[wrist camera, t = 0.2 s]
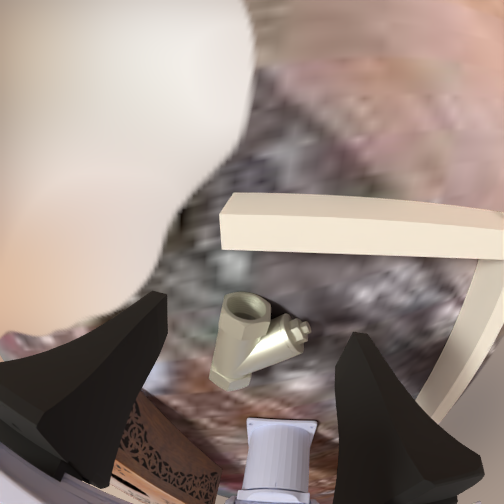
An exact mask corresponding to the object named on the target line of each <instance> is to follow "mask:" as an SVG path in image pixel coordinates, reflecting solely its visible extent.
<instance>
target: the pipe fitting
mask: <svg viewBox="0 0 504 504" xmlns="http://www.w3.org/2000/svg"><path fill="white" fill-rule="evenodd" d="M309 333H311V327H310V325H309V323H308V322H307V321H305V322H302V321H301V320H300V319H297V318H296V319H292V318H291V317H290V315H288V314H283V315H281V316H279V317H276V318H274V319H272V320H271V304H270V303H269V302H267V301H266V300H265V299H263V298H262V297H260V296H258V295H256V294H253V293H250V292H234V293H230V294H227V295H225V296H224V300H223V305H222V310H221V315H220V320H219V330H218V335H217V341H216V346H215V351H214V354H213V359H212V364H211V370H210V375H209V379H210V380H211V381H212V382H213V383H215V384H216V385H217V386H219V387H220V388H222V389H224V390H226V391H233V390H238V389H241V388H244V387H246V386H248V385H249V382H250V380H251V376H252V372H255V371H257V370H260V369H263V368H266V367H268V366H271V365H274V364H276V363H279V362H281V361H284V360H287V359H289V358H292V357H294V356H297V355H299V354H302V353H303V351H304V342H306V341H308V334H309Z"/></svg>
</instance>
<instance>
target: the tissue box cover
mask: <svg viewBox="0 0 504 504" xmlns="http://www.w3.org/2000/svg"><path fill="white" fill-rule="evenodd" d="M221 473H222V468H220V467H219V466H218V465H217V464H216V463H214V462H213V461H212V460H211V459H210V458H209V457H207V456H206V455H205V454H204V453H203V452H202V451H201V450H200V449H198V448H197V447H196V446H195V445H194V444H193V443H192V442H191V441H190V440H189V439H188V438H186V437H185V436H184V435H183V434H182V433H181V432H180V431H179V430H178V429H177V428H176V427H175V426H174V425H173V424H172V423H171V422H170V421H169V420H168V419H167V418H166V417H165V416H164V415H163V414H162V413H161V412H160V411H159V410H158V408H157V407H156V406H155V405H154V404H153V403H152V402H151V401H150V400H149V399H148V398H147V397H146V395H145V394H144V393H143V392H142V391H141V390H140V392H139V394H138V396H137V398H136V400H135V403H134V405H133V407H132V410H131V413H130V415H129V418H128V421H127V423H126V426H125V429H124V432H123V435H122V438H121V442H120V445H119V448H118V452H117V455H116V459H115V462H114V467H113V471H112V475H111V479H110V484H111V485H112V486H114V487H116V488H117V489H119V490H121V491H122V492H124V493H126V494H128V495H130V496H131V497H133V498H135V499H137V500H139V501H140V502H142V503H146V504H215V500H216V496H217V491H218V487H219V482H220V478H221Z"/></svg>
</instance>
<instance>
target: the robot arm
mask: <svg viewBox="0 0 504 504" xmlns="http://www.w3.org/2000/svg"><path fill="white" fill-rule="evenodd" d="M167 334H168V324H167V294H163V293H159V292H156V291H152V292H150V293H149V294H147V295H146V296H144V297H143V298H141V299H140V300H138V301H137V302H136V303H134V304H133V305H131V306H130V307H129V308H127V309H126V310H124V311H123V312H121V313H120V314H118V315H117V316H115V317H114V318H112V319H111V320H109V321H108V322H106V323H104V324H103V325H101V326H99V327H98V328H96V329H94V330H93V331H91V332H89V333H87V334H85V335H83V336H81V337H79V338H77V339H75V340H73V341H71V342H69V343H66V344H64V345H61V346H59V347H56V348H54V349H51V350H49V351H46V352H43V353H39V354H36V355H33V356H29V357H25V358H21V359H16V360H11V361H5V362H0V503H1V504H132V503H130V502H127V501H125V500H122V499H120V498H117V497H115V496H113V495H110V494H108V493H106V492H103V491H101V490H99V489H97V488H95V487H93V486H90V485H88V484H92V485H94V486H96V487H98V488H100V489H102V488H106V487H108V486H109V484H110V479H111V475H112V471H113V467H114V462H115V459H116V455H117V452H118V448H119V445H120V442H121V438H122V435H123V432H124V429H125V426H126V423H127V421H128V418H129V415H130V413H131V410H132V407H133V405H134V403H135V400H136V398H137V396H138V394H139V392H140V390H141V388H142V387H143V385H144V383H145V381H146V379H147V377H148V375H149V373H150V372H151V370H152V368H153V366H154V364H155V362H156V360H157V358H158V356H159V354H160V352H161V349H162V347H163V344H164V342H165V339H166V336H167ZM335 397H336V408H337V419H338V431H339V456H338V469H337V479H336V486H335V493H334V499H333V504H457V502H458V500H457V495H459V494H460V493H462V492H464V491H465V490H467V489H468V488H470V487H472V486H473V485H475V484H476V483H478V482H479V481H480V480H481V479H482V478H483V477H484V475H485V474H484V469H483V465H482V461H481V457H480V455H478V454H477V453H475V452H474V451H472V450H470V449H469V448H467V447H466V446H464V445H463V444H461V443H460V442H458V441H457V440H456V439H455V438H453V437H452V436H451V435H449V434H448V433H447V432H446V431H445V430H443V429H442V428H441V427H440V426H439V425H438V424H437V423H436V422H435V421H434V420H433V419H432V418H431V417H430V416H429V415H428V414H427V413H426V412H425V411H424V410H423V409H422V408H421V407H420V406H419V405H418V403H417V402H416V401H415V400H414V399H413V398H412V396H411V395H410V394H409V393H408V391H407V390H406V389H405V388H404V386H403V385H402V384H401V382H400V381H399V380H398V378H397V377H396V375H395V374H394V373H393V371H392V370H391V368H390V367H389V365H388V364H387V362H386V361H385V359H384V358H383V356H382V355H381V353H380V352H379V350H378V349H377V347H376V346H375V344H374V343H373V341H372V340H371V338H370V337H369V336H368V334H364V333H357V332H353V333H352V335H351V337H350V339H349V341H348V343H347V345H346V347H345V349H344V351H343V353H342V355H341V357H340V359H339V361H338V363H337V365H336V366H335ZM316 427H317V422H316V421H301V420H276V419H261V418H248V419H247V432H248V443H249V450H248V456H247V462H246V468H245V474H244V480H243V486H242V490H238V494H237V496H231V497H230V498H229V499H228V500H226V502H225V504H319V503H318V502H317V501H316V500H315V499H311V500H310V493H308V480H309V453H310V446H311V443H312V440H313V437H314V433H315V430H316ZM82 481H84V482H86V483H88V484H86V483H84V482H82ZM309 501H310V502H309ZM473 504H481V501H478V502H475V503H473Z"/></svg>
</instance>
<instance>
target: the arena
mask: <svg viewBox="0 0 504 504" xmlns="http://www.w3.org/2000/svg"><path fill="white" fill-rule="evenodd" d="M219 217H220V231H221V244H222V249H224V250H252V251H280V252H308V253H336V254H363V255H390V256H417V257H444V258H470V259H479V260H478V264H477V267H476V270H475V273H474V276H473V279H472V282H471V285H470V287H469V290H468V293H467V295H466V298H465V301H464V303H463V306H462V308H461V311H460V313H459V316H458V318H457V320H456V323H455V325H454V327H453V329H452V332H451V334H450V336H449V338H448V340H447V342H446V345H445V347H444V349H443V351H442V353H441V355H440V357H439V359H438V361H437V362H436V364H435V366H434V368H433V370H432V372H431V374H430V376H429V377H428V379H427V381H426V383H425V384H424V386H423V388H422V390H421V391H420V393H419V395H418V396H417V398H416V400H415V401H416V402H417V403H418V405H419V406H420V407H421V408H422V409H423V410H424V411H425V412H426V413H427V414H428V415H429V416H430V417H431V418H432V419H433V420H434V421H435V422H436V423H437V424H438V425H439V423H440V422H441V421H442V420H443V418H444V417H445V415H447V413H448V412H449V411H450V409H451V408H452V407H453V405H454V404H455V403H456V401H457V400H458V398H459V397H460V396H461V394H462V393H463V391H464V390H465V388H466V387H467V385H468V384H469V382H470V381H471V379H472V378H473V376H474V375H475V373H476V372H477V370H478V368H479V367H480V365H481V363H482V362H483V360H484V358H485V357H486V355H487V353H488V352H489V350H490V348H491V346H492V344H493V343H494V341H495V339H496V337H497V335H498V333H499V331H500V329H501V327H502V325H503V323H504V212H498V211H491V210H484V209H477V208H470V207H462V206H454V205H445V204H436V203H427V202H417V201H406V200H395V199H382V198H369V197H354V196H336V195H315V194H286V193H233V194H232V196H231V197H230V199H229V200H228V202H227V203H226V205H225V206H224V208H223V209H222V211H221V213H220V214H219Z"/></svg>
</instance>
